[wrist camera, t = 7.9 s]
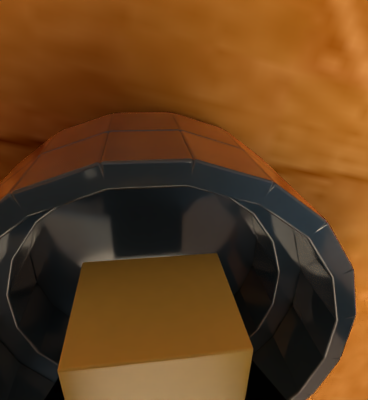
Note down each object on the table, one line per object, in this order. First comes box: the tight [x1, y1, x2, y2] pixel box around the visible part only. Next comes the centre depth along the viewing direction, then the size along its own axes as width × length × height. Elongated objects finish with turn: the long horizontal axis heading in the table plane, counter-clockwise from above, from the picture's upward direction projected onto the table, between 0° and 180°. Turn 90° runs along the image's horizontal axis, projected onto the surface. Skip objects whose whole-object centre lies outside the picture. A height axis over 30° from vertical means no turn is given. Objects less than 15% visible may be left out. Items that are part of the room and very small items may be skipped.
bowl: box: [0, 112, 356, 400], centre depth 11 cm, size 11×11×5 cm
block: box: [57, 253, 253, 400], centre depth 8 cm, size 5×4×3 cm
